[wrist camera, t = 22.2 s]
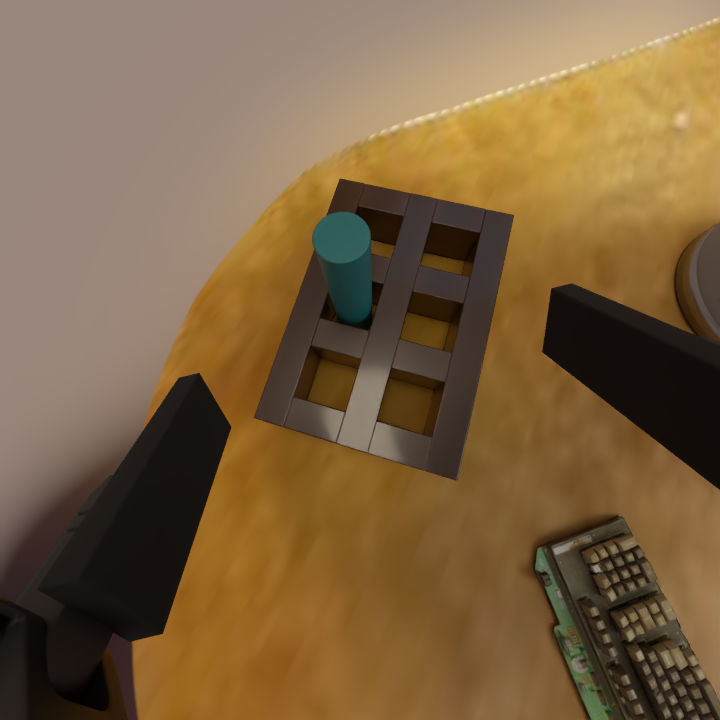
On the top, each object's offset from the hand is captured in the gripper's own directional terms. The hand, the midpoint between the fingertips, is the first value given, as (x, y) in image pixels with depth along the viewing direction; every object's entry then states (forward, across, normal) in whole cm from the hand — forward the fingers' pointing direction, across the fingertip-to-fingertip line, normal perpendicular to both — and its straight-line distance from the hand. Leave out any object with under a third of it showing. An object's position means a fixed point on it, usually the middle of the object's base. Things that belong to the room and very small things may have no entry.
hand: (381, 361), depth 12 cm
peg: (+17, 0, +6) cm, 18 cm away
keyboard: (-6, -14, +29) cm, 33 cm away
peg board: (+16, -3, +7) cm, 18 cm away
